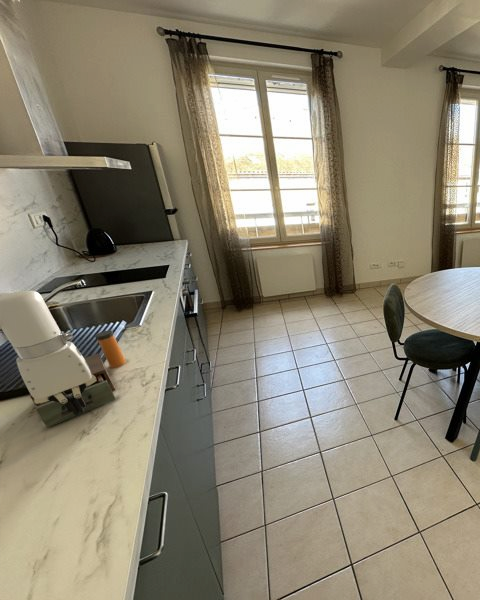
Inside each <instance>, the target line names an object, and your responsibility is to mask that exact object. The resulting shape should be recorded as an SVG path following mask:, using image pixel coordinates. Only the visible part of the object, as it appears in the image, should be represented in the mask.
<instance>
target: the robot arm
mask: <svg viewBox="0 0 480 600" xmlns="http://www.w3.org/2000/svg"><path fill="white" fill-rule="evenodd" d="M0 329H1V331H2V332H3V334H4V335H5V337H6V339H7V340H8V341H9V344H10V345H11V347H12V348H13V350H14V351H15V353H16V354H17V356H18V357H17V358H16V359H15V361H16V365H17V369H18V371H19V374H20V376H21V379H22V380H23V383H24V385H25V387H26V388H27V390H28V392H29V394H31V395H32V397H33V398H34V402H35V403H36V404H38V403H43V402H47V401H54V402H60V403H62V404H64V405H65V406H66V408H67V410H68V411H69V413H70V412H73V413H74V414H75V416H74V417H76V415H77V416H79V415H80V414H79V413H82V414H84V413H85V412H84V409H83V407H85V406H86V404H85V402H84V400H83V399H82V397H81V394H82V393H83V391H84V390H85V388H86V387H87V386H89V385H91V384H93V383H94V382H96V381H97V380H96V377H95V376H94V375H93V374H92V373H91V370H90V368H89V366H88V364H87V363H86V361H85V359H84V358H85V357H84V356H83V355H82V353H81V352H80V350H79V349H78V347H77V346H76V345H75V344H74V343H73V342H72V341H70V340H71V339H73V338H74V335H73V333H72V332H62V331H61V329H60V328H59V325H58V324H57V321H56V320H55V318H54V316H53V315H52V312H51V311H50V309H49V307H48V306H47V303H46V301H45V300H44V298H43V296H42V295H41V294H40V293H39V292H38V291H35V290H20V291H13V292H0ZM70 388H72V391H73V394H72V397H70V396H69V395H66V393H65V392H64V391H65V390H68V389H70ZM34 402H33V403H34ZM83 412H84V413H83ZM78 414H79V415H78Z"/></svg>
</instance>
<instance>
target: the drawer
mask: <svg viewBox="0 0 480 600" xmlns="http://www.w3.org/2000/svg"><path fill="white" fill-rule="evenodd" d="M95 377H96V380H97V381H96V382H94V383H93V384H91V385H89V386H87V387H86V388H85V390H84V391H83V393H82V394H81V397H82V399H83V400H84V402H85V404H86V406H85V407H83V409H84V412H83V413H79V414H78V415H76V416H79V415H81V414H84V413H86V412H89V411H91V410H94V409H96V408H98V407H101V406H104V405H105V404H108V403H111V402H113V401H114V400H116V396H115V395H114V391H112V390H111V388H110V386H109V384H108V382H107V380H104V378H103V376H102V374H99V375H97V376H95ZM64 392H65V393H66V395H69V396H70V397H72V394H73V391H72V388H70V389H68V390H65V391H64ZM35 412H36V413H37V414H38V416H39V417H40V419H41V420H42V422H43V423H44V425H45V427H46V428H47V429H48V428H50V427H53V426H55V425H57V424H60V423H62V422H64V421H67V420H70V419H72V418H75V417H76V416H75V414H74V413H73V412H70V413H69V411H68V410H67V408H66V406H65V405H64V404H62V403H60V402H54V401H47V402H43V403H40V406H37V407H36V406H35Z"/></svg>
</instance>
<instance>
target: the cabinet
mask: <svg viewBox="0 0 480 600" xmlns="http://www.w3.org/2000/svg"><path fill="white" fill-rule="evenodd" d="M83 358H84V359H85V361H86V363H87V364H88V366H89V368H90V370H91V373H92V374H93V375H94V376H97V375H99V374H102V376H103V378H104V380H107V382H108V384H109V386H110V388H111V390H112V392H114V391H116V387H115V386H114V382H113V381H112V378H111V376H110V375H111V374H110V373H109V371H108V368H107V367H106V365H105V363H104V361H103V358H102V357H101V355H100V353H95V354H92V355H90V356H86V357H83ZM29 394H30V393H29ZM29 396H30V399H31V401H32V403H33V404H34V405H35V408H36V407H37V406H40V403H38V404H36V403H35V402H34V398H33V397H32V395H31V394H30V395H29Z"/></svg>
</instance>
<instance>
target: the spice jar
mask: <svg viewBox="0 0 480 600" xmlns="http://www.w3.org/2000/svg"><path fill="white" fill-rule="evenodd" d="M94 338H95V340H97V341H96V342H97V343H98V345H99V347H100V349H101V351H102V353H103V355H104V356H105V359H106V361H107V363H108V365H109V367H110V368H111V369H115V368H119V367H121V366H123V365H125V364H126V362H127V361H126V359H125V356H124V354H123V352H122V350H121V348H120V346H119V343H118V341H117V339H116V337H115V335H114V332H113V330H112V329H111V330H110V329H109V330H103V331H99V332H98V333H96V334H95V335H94Z"/></svg>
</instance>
